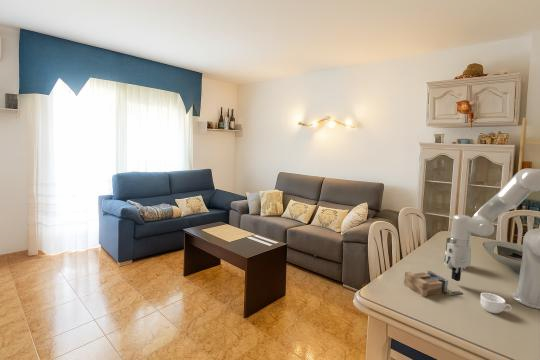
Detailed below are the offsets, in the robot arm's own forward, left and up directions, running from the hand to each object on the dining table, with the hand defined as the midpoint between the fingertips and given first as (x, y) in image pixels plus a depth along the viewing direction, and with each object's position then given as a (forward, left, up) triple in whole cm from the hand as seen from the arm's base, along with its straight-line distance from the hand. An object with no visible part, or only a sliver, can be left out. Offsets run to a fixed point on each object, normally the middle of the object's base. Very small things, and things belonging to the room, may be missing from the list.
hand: (455, 279), depth 136 cm
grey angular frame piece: (-1, +15, -2) cm, 15 cm away
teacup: (-21, +3, -3) cm, 21 cm away
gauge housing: (-1, +14, -3) cm, 14 cm away
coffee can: (+18, -20, -3) cm, 27 cm away
